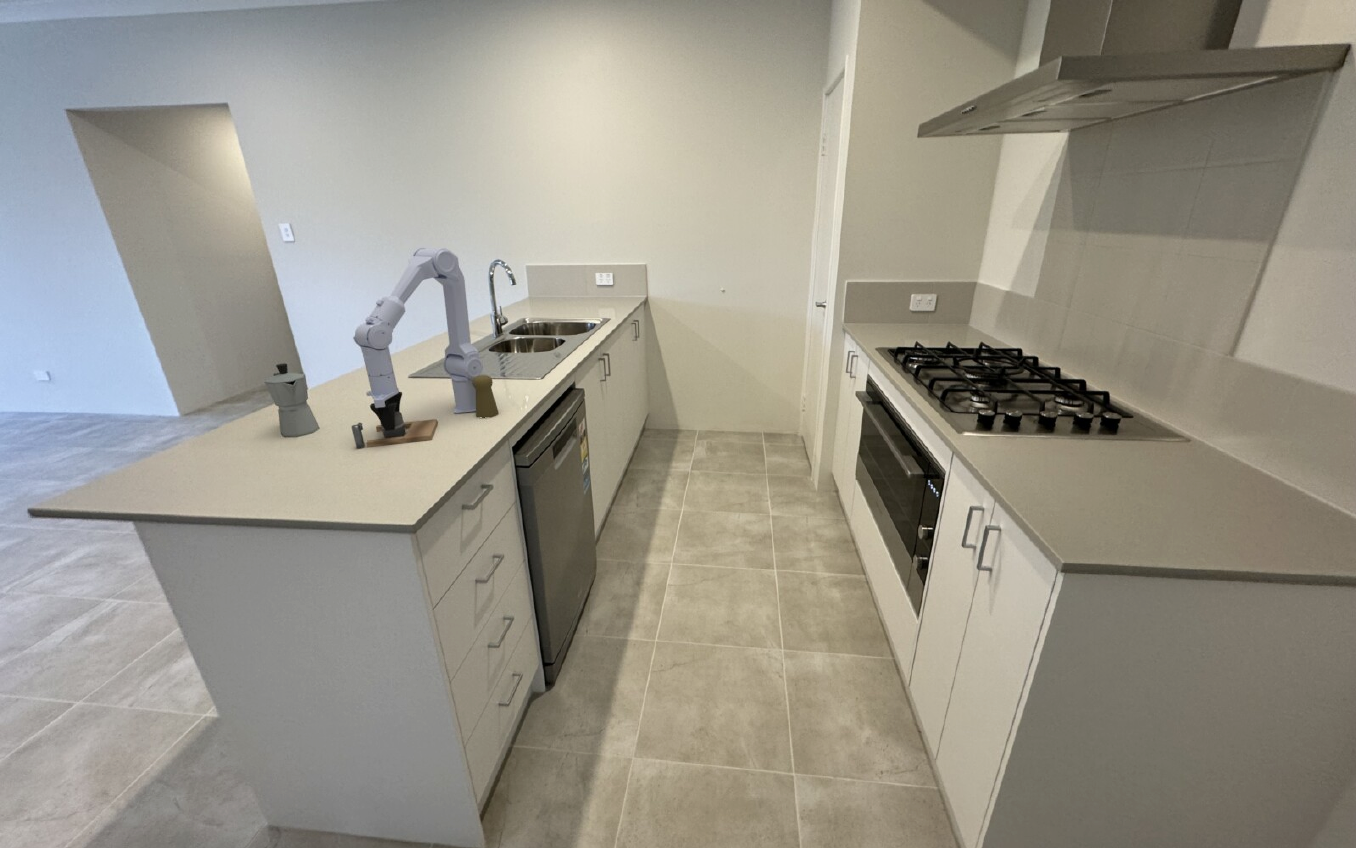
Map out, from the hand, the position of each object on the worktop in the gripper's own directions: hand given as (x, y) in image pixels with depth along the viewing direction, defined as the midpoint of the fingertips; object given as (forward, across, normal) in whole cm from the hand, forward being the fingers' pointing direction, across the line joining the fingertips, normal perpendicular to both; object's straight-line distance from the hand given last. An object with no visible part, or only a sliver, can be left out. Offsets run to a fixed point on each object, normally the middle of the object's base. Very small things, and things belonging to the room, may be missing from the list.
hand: (392, 425), depth 138 cm
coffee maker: (+3, -12, -25) cm, 28 cm away
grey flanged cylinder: (+2, 0, 0) cm, 2 cm away
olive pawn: (+3, -9, +22) cm, 24 cm away
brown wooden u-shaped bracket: (+3, 0, +3) cm, 4 cm away
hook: (+3, +4, -7) cm, 8 cm away
